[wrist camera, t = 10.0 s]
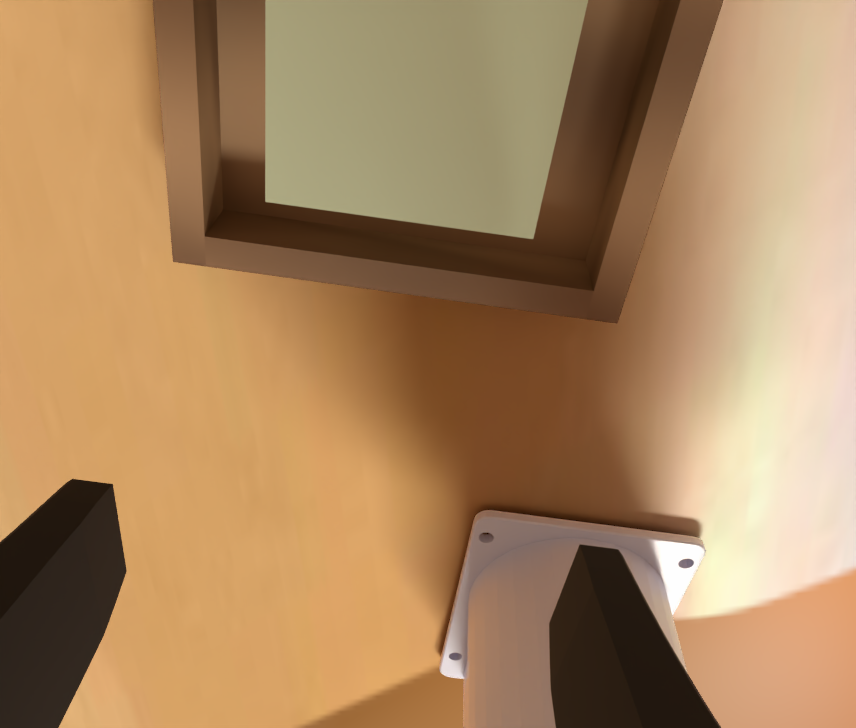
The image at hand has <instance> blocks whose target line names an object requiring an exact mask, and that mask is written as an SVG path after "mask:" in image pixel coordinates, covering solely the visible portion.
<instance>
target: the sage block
mask: <svg viewBox="0 0 856 728" xmlns="http://www.w3.org/2000/svg"><path fill="white" fill-rule="evenodd" d="M587 3H588V0H265V202H270V203H277V204H284V205H291V206H299V207H306V208H313V209H320V210H327V211H334V212H342V213H349V214H356V215H363V216H370V217H377V218H384V219H392V220H399V221H406V222H413V223H420V224H427V225H435V226H442V227H449V228H456V229H463V230H470V231H477V232H485V233H492V234H499V235H506V236H513V237H520V238H527V239H533V238H534V234H535V229H536V225H537V221H538V216H539V212H540V208H541V203H542V199H543V195H544V190H545V186H546V182H547V177H548V173H549V169H550V164H551V160H552V155H553V151H554V147H555V142H556V138H557V134H558V129H559V125H560V121H561V116H562V112H563V108H564V103H565V99H566V95H567V90H568V86H569V82H570V77H571V73H572V69H573V64H574V60H575V56H576V51H577V47H578V43H579V38H580V34H581V30H582V25H583V21H584V16H585V12H586V8H587Z"/></svg>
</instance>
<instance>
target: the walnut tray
mask: <svg viewBox="0 0 856 728" xmlns="http://www.w3.org/2000/svg"><path fill="white" fill-rule="evenodd" d="M722 3H723V0H588V3H587V8H586V12H585V16H584V21H583V25H582V30H581V34H580V38H579V43H578V47H577V51H576V56H575V60H574V64H573V69H572V73H571V77H570V82H569V86H568V90H567V95H566V99H565V103H564V108H563V112H562V116H561V121H560V125H559V129H558V134H557V138H556V142H555V147H554V151H553V155H552V160H551V164H550V169H549V173H548V177H547V182H546V186H545V190H544V195H543V199H542V203H541V208H540V212H539V216H538V221H537V225H536V229H535V234H534V238H533V239H527V238H520V237H513V236H506V235H499V234H492V233H485V232H477V231H470V230H463V229H456V228H449V227H442V226H435V225H427V224H420V223H413V222H406V221H399V220H392V219H384V218H377V217H370V216H363V215H356V214H349V213H342V212H334V211H327V210H320V209H313V208H306V207H299V206H291V205H284V204H277V203H270V202H265V0H153V9H154V22H155V35H156V48H157V61H158V74H159V87H160V100H161V113H162V126H163V139H164V152H165V165H166V178H167V190H168V203H169V216H170V229H171V242H172V255H173V262H178V263H186V264H193V265H200V266H207V267H214V268H222V269H229V270H236V271H243V272H250V273H258V274H265V275H272V276H279V277H286V278H294V279H301V280H308V281H315V282H322V283H330V284H337V285H344V286H351V287H358V288H366V289H373V290H380V291H387V292H394V293H401V294H409V295H416V296H423V297H430V298H437V299H445V300H452V301H459V302H466V303H473V304H481V305H488V306H495V307H502V308H509V309H517V310H524V311H531V312H538V313H545V314H553V315H560V316H567V317H574V318H581V319H589V320H596V321H603V322H610V323H617V322H618V319H619V316H620V313H621V310H622V307H623V304H624V301H625V298H626V295H627V292H628V289H629V286H630V283H631V280H632V277H633V274H634V271H635V268H636V265H637V262H638V259H639V256H640V253H641V250H642V246H643V243H644V240H645V237H646V234H647V231H648V228H649V225H650V222H651V219H652V216H653V213H654V210H655V207H656V204H657V201H658V198H659V195H660V192H661V189H662V186H663V183H664V180H665V177H666V174H667V170H668V167H669V164H670V161H671V158H672V155H673V152H674V149H675V146H676V143H677V140H678V137H679V134H680V131H681V128H682V125H683V122H684V119H685V116H686V113H687V110H688V107H689V104H690V101H691V97H692V94H693V91H694V88H695V85H696V82H697V79H698V76H699V73H700V70H701V67H702V64H703V61H704V58H705V55H706V52H707V49H708V46H709V43H710V40H711V37H712V34H713V31H714V28H715V25H716V21H717V18H718V15H719V12H720V9H721V6H722Z"/></svg>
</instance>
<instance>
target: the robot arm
mask: <svg viewBox="0 0 856 728" xmlns="http://www.w3.org/2000/svg"><path fill="white" fill-rule="evenodd" d="M482 533H490V534H482ZM705 551H706V550H705V547H704V544H703V542H702V540H701V539H699V538H698V537H694V536H688V535H680V534H672V533H664V532H657V531H649V530H641V529H634V528H626V527H618V526H610V525H603V524H595V523H587V522H580V521H572V520H564V519H556V518H549V517H541V516H533V515H525V514H518V513H510V512H502V511H495V510H484V511H481V512H479V513H478V514H476V516H475V518H474V521H473V525H472V530H471V534H470V538H469V542H468V546H467V550H466V555H465V559H464V563H463V567H462V571H461V575H460V580H459V584H458V588H457V592H456V596H455V600H454V605H453V609H452V613H451V617H450V621H449V625H448V630H447V634H446V638H445V642H444V646H443V650H442V655H441V659H440V672H441V673H442V674H443V675H445V676H447V677H452V678H461V679H464V702H463V705H464V706H463V707H464V708H463V728H721V727H720V725H719V724H718V722H717V721H716V719H715V718H714V716H713V714H712V713H711V711H710V710H709V708H708V707H707V705H706V703H705V702H704V700H703V698H702V697H701V695H700V694H699V692H698V690H697V689H696V687H695V685H694V684H693V682H692V680H691V679H690V677H689V675H688V674H687V670H686V666H685V662H684V658H683V654H682V650H681V647H680V643H679V639H678V635H677V631H676V627H675V623H674V619H673V615H674V613H675V611H676V609H677V607H678V605H679V603H680V601H681V599H682V597H683V596H684V594H685V592H686V590H687V588H688V586H689V584H690V582H691V580H692V578H693V576H694V574H695V573H696V571H697V569H698V567H699V565H700V563H701V561H702V559H703V557H704V555H705ZM686 558H687V559H686ZM125 574H126V565H125V559H124V552H123V546H122V540H121V534H120V527H119V521H118V515H117V509H116V502H115V496H114V490H113V484H107V483H99V482H91V481H84V480H76V479H72V480H70V481H69V482H67V483H66V484H65V485H63V486H62V487H61V488H60V489H59V490H58V491H57V492H56V493H55V494H53V495H52V496H51V497H50V498H49V499H48V500H47V501H46V502H45V503H44V504H42V505H41V506H40V507H39V508H38V509H37V510H36V511H35V512H34V513H33V514H31V515H30V516H29V517H28V518H27V519H26V520H25V521H24V522H23V523H21V524H20V525H19V526H18V527H17V528H16V529H15V530H14V531H13V532H11V533H10V534H9V535H8V536H7V537H6V538H5V539H3V540H2V541H1V542H0V728H58V727H59V725H60V723H61V721H62V719H63V717H64V715H65V713H66V711H67V709H68V707H69V705H70V703H71V701H72V699H73V697H74V695H75V693H76V691H77V689H78V687H79V685H80V683H81V681H82V679H83V677H84V675H85V673H86V671H87V669H88V667H89V665H90V663H91V660H92V658H93V656H94V654H95V652H96V650H97V648H98V646H99V644H100V642H101V640H102V638H103V636H104V633H105V630H106V628H107V625H108V622H109V620H110V617H111V614H112V611H113V609H114V606H115V603H116V600H117V597H118V594H119V591H120V589H121V586H122V583H123V580H124V577H125Z"/></svg>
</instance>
